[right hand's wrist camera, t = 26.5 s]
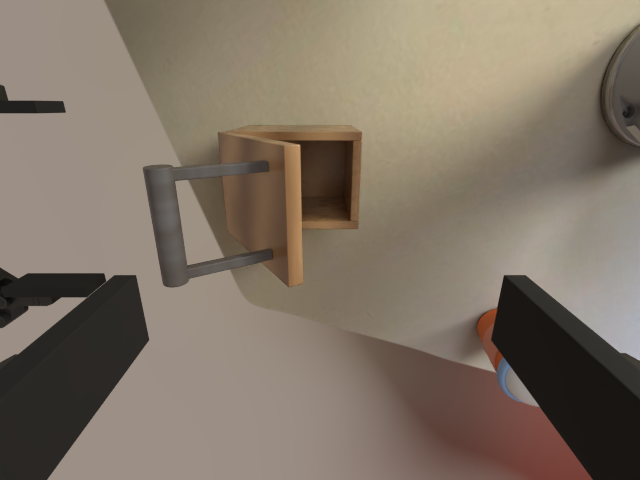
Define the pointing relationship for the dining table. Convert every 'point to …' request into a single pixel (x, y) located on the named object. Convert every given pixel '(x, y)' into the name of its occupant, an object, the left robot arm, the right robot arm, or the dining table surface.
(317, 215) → the chest
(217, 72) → the dining table surface
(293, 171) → the lid
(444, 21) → the dining table surface
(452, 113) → the dining table surface
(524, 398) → the cup with straw
